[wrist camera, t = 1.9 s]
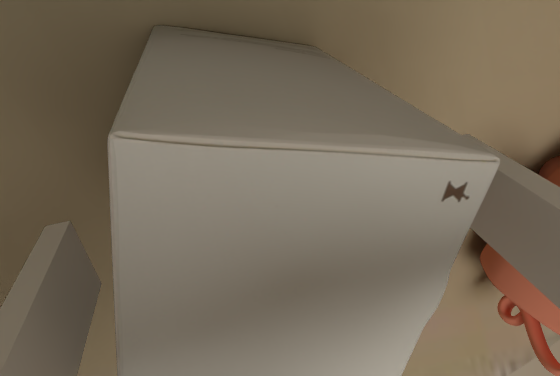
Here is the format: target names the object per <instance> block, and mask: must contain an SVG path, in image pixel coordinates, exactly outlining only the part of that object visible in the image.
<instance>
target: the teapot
mask: <svg viewBox="0 0 560 376" xmlns="http://www.w3.org/2000/svg"><path fill="white" fill-rule="evenodd" d="M539 175H540V176H541V177H543V178H545V179H546V180H548V181H550V182H552V183H553V184H555V185H557V186H558V187H560V156H557V157H554V158H552V159H550V160H549V161H547V162H546V163H545V164H544V165H543V166H542V168H541V170H540V172H539ZM480 261H481V264H482V266H483V269H484V271H485V273H486V275H487V276H488V278H489V279H490V281H491V282H492V283H493V285H494V286H496V287H497V288H498V289H499V290H500V291H501V292H502V293H503V294H504V295H505V296H503V297H502V298H501V300H500V301H499V303H498V312H499V315H500V316H501V318H502V319H503V320H504V321H505V322H506V323H508V324H510V325H514V326H518V325H521V324H523V323H524V324H525V327H526V331H527V334H528V337H529V340H530V342H531V345H532V347H533V350H534V352H535V354H536V356H537V358H538V359H539V361H540V362H541V364H542V365H543V366H544V367H545V368H546V369H547V370H548V371H549V372H551V373H552V374H553V375H555V376H560V364H559V363H558V362H557V360H556V359H555V358H554V356H553V354H552V353H551V351H550V349H549V347H548V345H547V342H546V340H545V337H544V334H543V331H542V328H541V325H540V322H541V323H542V324H543V325H545V326H546V327H548V328H549V329H551V330H552V331H554V332H556V333H557V334H559V335H560V309H559V308H558V307H557V306H556V305H555V304H554V303H552V302H551V301H550V300H549V299H548V298H547V297H546V296H545V295H544V294H543V293H541V292H540V291H539V290H538V289H537V288H536V287H535V286H534V285H533V284H532V283H530V282H529V281H528V280H527V279H526V278H525V277H524V276H523V275H522V274H521V273H520V272H518V271H517V270H516V269H515V268H514V267H513V266H512V265H511V264H510V263H509V262H507V261H506V260H505V259H504V258H503V257H502V256H501V255H500V254H499V253H498V252H496V251H495V250H494V249H493V248H492V247H491V246H490V245H489V244H488V243H487V244H486V246H485V247H484V249H483V251H482V252H481V255H480ZM516 305H517V307H518V308H519V310H520V312H519V313H518V314H517V315H516V316H511V311H512V309H513V307H514V306H516Z"/></svg>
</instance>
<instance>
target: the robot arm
mask: <svg viewBox="0 0 560 376" xmlns="http://www.w3.org/2000/svg"><path fill="white" fill-rule="evenodd" d="M462 136H464V137H465V138H467V139H469V140H470V141H472V142H474V143H476V144H477V145H479V146H481V147H482V148H484V149H486V150H487V151H489V152H491V153H492V154H494V155H496V156H497V157H498V158H499V159H500V164H499V167H498V169H497V171H496V174H495V176H494V178H493V180H492V182H491V184H490V186H489V189H488V191H487V193H486V195H485V197H484V199H483V201H482V203H481V205H480V208H479V210H478V212H477V214H476V216H475V218H474V220H473V222H472V224H471V226H470V228H471V229H472V230H473V231H474V232H476V233H477V234H478V235H479V236H480V237H481V238H482V239H483V240H484V241H485V242H487V243H488V244H489V245H490V246H491V247H492V248H493V249H494V250H495V251H496V252H498V253H499V254H500V255H501V256H502V257H503V258H504V259H505V260H506V261H507V262H509V263H510V264H511V265H512V266H513V267H514V268H515V269H516V270H517V271H518V272H520V273H521V274H522V275H523V276H524V277H525V278H526V279H527V280H528V281H529V282H530V283H532V284H533V285H534V286H535V287H536V288H537V289H538V290H539V291H540V292H541V293H543V294H544V295H545V296H546V297H547V298H548V299H549V300H550V301H551V302H552V303H554V304H555V305H556V306H557V307H558V308H559V309H560V187H558V186H557V185H555V184H553V183H552V182H550V181H548V180H546V179H545V178H543V177H541V176H540V175H538V174H536V173H535V172H533V171H531V170H529V169H528V168H526V167H524V166H523V165H521V164H519V163H517V162H516V161H514V160H512V159H511V158H509V157H507V156H505V155H504V154H502V153H500V152H499V151H497V150H495V149H493V148H492V147H490V146H488V145H487V144H485V143H483V142H481V141H480V140H478V139H476V138H475V137H473V136H471V135H470V134H465V135H462ZM100 287H101V281H100V279H99V277H98V275H97V273H96V271H95V269H94V267H93V265H92V263H91V261H90V259H89V257H88V255H87V253H86V251H85V249H84V247H83V245H82V243H81V241H80V239H79V237H78V235H77V233H76V231H75V229H74V227H73V225H72V223H71V221H66V222H61V223H57V224H52V225H48V226H45V227H44V229H43V231H42V233H41V235H40V237H39V238H38V240H37V242H36V244H35V246H34V248H33V249H32V251H31V253H30V255H29V257H28V259H27V260H26V262H25V264H24V266H23V268H22V270H21V271H20V273H19V275H18V277H17V279H16V281H15V283H14V284H13V286H12V288H11V290H10V292H9V294H8V295H7V297H6V299H5V301H4V303H3V305H2V306H1V308H0V376H77V373H78V369H79V366H80V362H81V358H82V354H83V351H84V347H85V343H86V339H87V336H88V332H89V328H90V324H91V321H92V317H93V313H94V309H95V306H96V302H97V298H98V294H99V291H100Z"/></svg>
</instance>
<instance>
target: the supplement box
mask: <svg viewBox="0 0 560 376" xmlns="http://www.w3.org/2000/svg"><path fill="white" fill-rule="evenodd" d="M107 145H108V167H109V193H110V218H111V243H112V267H113V290H114V312H115V334H116V355H117V375H118V376H402V373H403V371H404V369H405V367H406V365H407V362H408V360H409V358H410V356H411V354H412V352H413V349H414V347H415V345H416V343H417V341H418V338H419V336H420V334H421V332H422V330H423V328H424V326H425V325H426V323H427V322H428V321H429V319H430V318H431V316H432V315H433V313H434V312H435V310H436V309H437V307H438V305H439V303H440V301H441V299H442V297H443V294H444V292H445V289H446V286H447V283H448V279H449V274H450V270H451V267H452V265H453V263H454V261H455V259H456V256H457V254H458V252H459V250H460V248H461V245H462V243H463V241H464V239H465V237H466V235H467V233H468V231H469V228H470V226H471V224H472V222H473V220H474V218H475V216H476V214H477V212H478V210H479V208H480V205H481V203H482V201H483V199H484V197H485V195H486V193H487V191H488V189H489V186H490V184H491V182H492V180H493V178H494V176H495V174H496V171H497V169H498V167H499V164H500V159H499V158H498V157H497V156H496V155H494V154H492V153H491V152H489V151H487V150H486V149H484V148H482V147H481V146H479V145H477V144H476V143H474V142H472V141H470V140H469V139H467V138H465V137H464V136H462V135H460V134H459V133H457V132H455V131H454V130H452V129H450V128H449V127H447V126H445V125H444V124H442V123H440V122H439V121H437V120H435V119H434V118H432V117H430V116H429V115H427V114H425V113H424V112H422V111H420V110H419V109H417V108H415V107H414V106H412V105H410V104H409V103H407V102H406V101H404V100H402V99H401V98H399V97H397V96H396V95H394V94H392V93H391V92H389V91H387V90H386V89H384V88H382V87H381V86H379V85H378V84H376V83H374V82H373V81H371V80H369V79H368V78H366V77H365V76H363V75H361V74H360V73H358V72H356V71H355V70H353V69H351V68H350V67H348V66H346V65H345V64H343V63H341V62H340V61H338V60H337V59H335V58H333V57H331V56H330V55H328V54H326V53H325V52H323V51H322V50H320V49H318V48H317V47H314V46H308V45H301V44H294V43H287V42H280V41H273V40H266V39H259V38H252V37H244V36H237V35H230V34H223V33H216V32H209V31H202V30H196V29H189V28H181V27H173V26H161V25H158V26H154V27H153V29H152V32H151V34H150V37H149V39H148V42H147V44H146V47H145V49H144V51H143V54H142V56H141V58H140V61H139V63H138V65H137V68H136V70H135V72H134V75H133V77H132V79H131V82H130V84H129V86H128V89H127V91H126V93H125V96H124V98H123V101H122V103H121V106H120V108H119V111H118V113H117V115H116V117H115V120H114V123H113V126H112V128H111V130H110V132H109V134H108V144H107Z"/></svg>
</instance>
